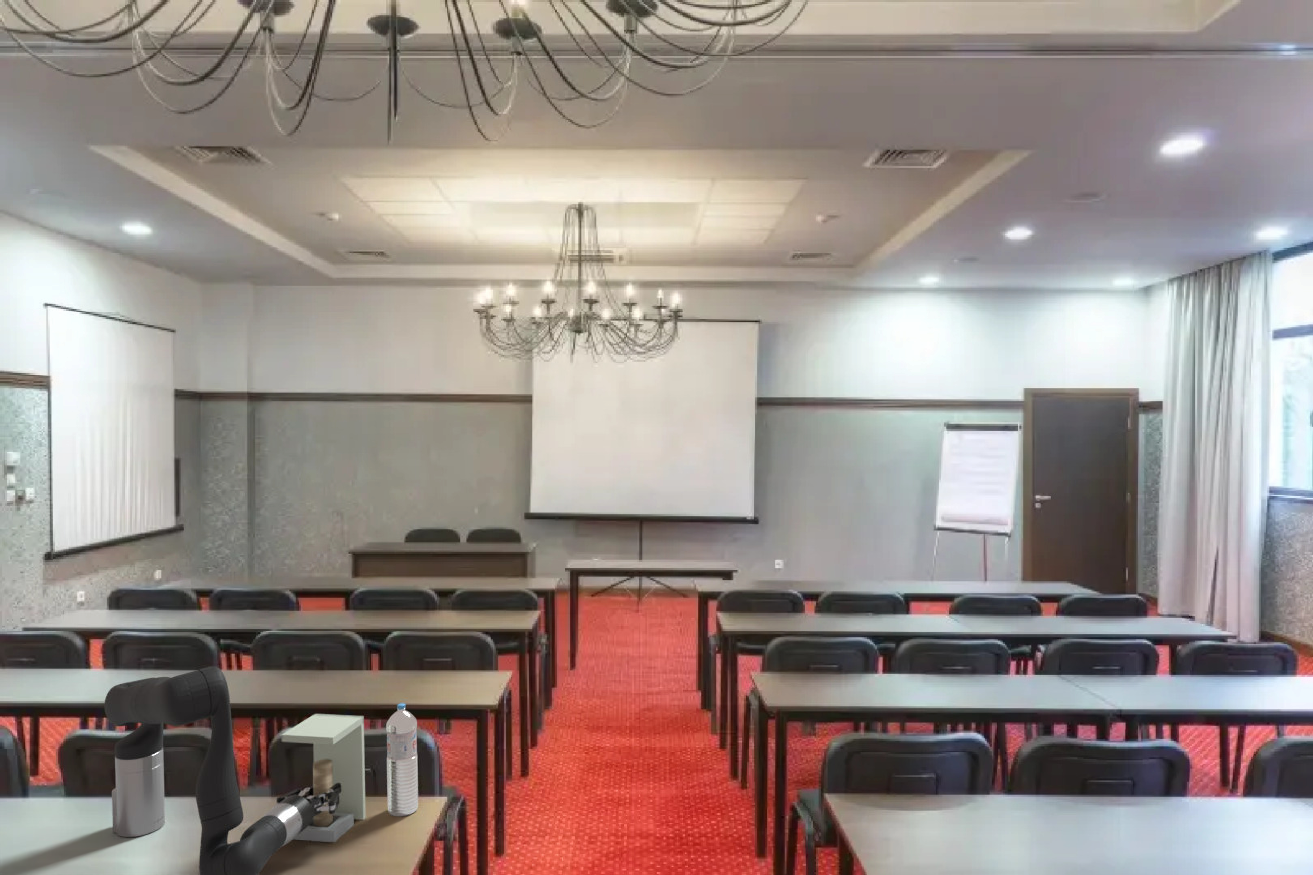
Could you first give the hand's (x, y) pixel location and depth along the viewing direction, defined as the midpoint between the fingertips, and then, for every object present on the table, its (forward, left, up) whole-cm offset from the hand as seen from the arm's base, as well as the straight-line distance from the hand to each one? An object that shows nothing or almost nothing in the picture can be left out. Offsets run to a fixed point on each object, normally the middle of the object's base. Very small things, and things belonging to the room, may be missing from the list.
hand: (329, 786), depth 190 cm
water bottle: (+13, +9, -9) cm, 18 cm away
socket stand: (0, -3, -9) cm, 9 cm away
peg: (0, -3, -7) cm, 8 cm away
